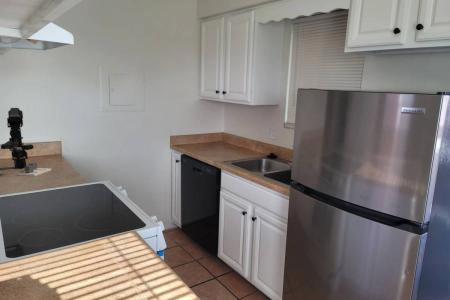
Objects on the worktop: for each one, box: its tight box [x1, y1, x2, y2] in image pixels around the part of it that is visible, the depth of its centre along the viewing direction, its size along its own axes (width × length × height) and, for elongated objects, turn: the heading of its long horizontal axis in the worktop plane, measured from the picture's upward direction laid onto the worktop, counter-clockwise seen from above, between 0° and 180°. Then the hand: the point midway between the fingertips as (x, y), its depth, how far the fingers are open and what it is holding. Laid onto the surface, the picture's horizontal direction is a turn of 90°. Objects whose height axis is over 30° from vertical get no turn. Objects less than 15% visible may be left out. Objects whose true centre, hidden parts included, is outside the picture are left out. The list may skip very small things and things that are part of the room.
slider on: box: [28, 161, 38, 169], centre depth 220 cm, size 3×4×4 cm
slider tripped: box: [24, 164, 34, 173], centre depth 212 cm, size 3×4×4 cm
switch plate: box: [16, 167, 52, 177], centre depth 216 cm, size 12×16×1 cm
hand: (18, 159), depth 212 cm, fingers closed
